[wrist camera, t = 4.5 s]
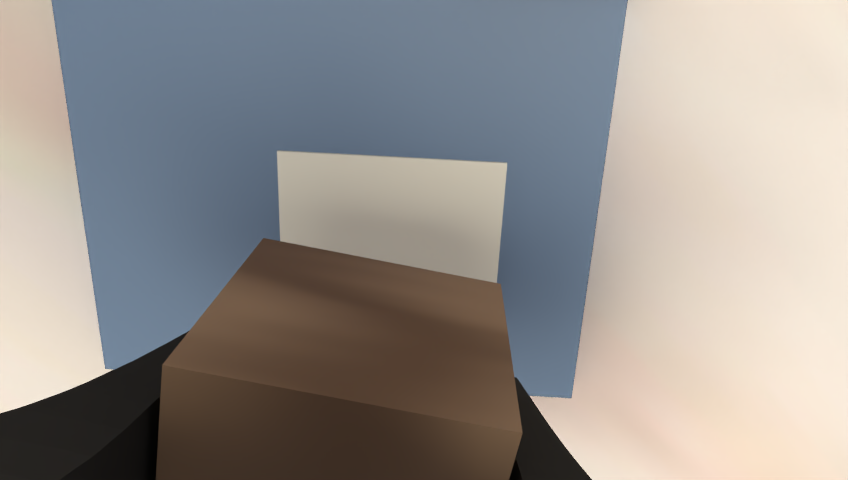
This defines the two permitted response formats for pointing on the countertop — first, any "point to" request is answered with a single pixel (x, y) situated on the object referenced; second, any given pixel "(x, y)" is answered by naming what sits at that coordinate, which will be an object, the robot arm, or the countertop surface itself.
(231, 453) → the walnut block
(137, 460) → the robot arm
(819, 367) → the countertop surface
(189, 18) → the blueprint board
